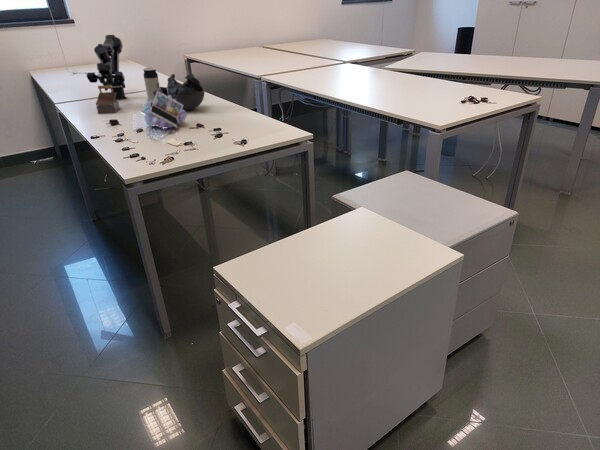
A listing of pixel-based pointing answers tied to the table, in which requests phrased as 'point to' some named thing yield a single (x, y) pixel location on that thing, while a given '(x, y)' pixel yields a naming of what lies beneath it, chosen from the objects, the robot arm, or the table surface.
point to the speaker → (162, 89)
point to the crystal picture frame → (163, 111)
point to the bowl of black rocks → (186, 91)
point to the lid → (106, 96)
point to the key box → (108, 107)
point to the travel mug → (151, 82)
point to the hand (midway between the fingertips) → (106, 90)
